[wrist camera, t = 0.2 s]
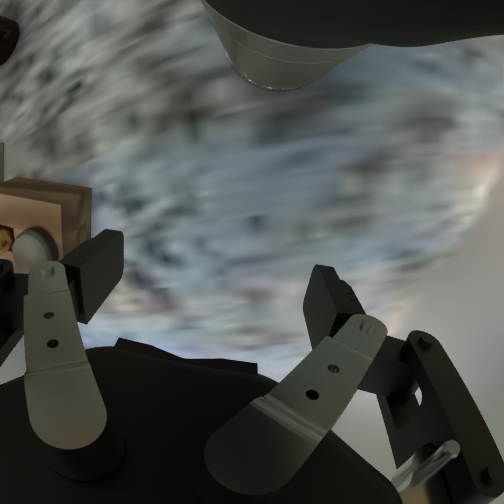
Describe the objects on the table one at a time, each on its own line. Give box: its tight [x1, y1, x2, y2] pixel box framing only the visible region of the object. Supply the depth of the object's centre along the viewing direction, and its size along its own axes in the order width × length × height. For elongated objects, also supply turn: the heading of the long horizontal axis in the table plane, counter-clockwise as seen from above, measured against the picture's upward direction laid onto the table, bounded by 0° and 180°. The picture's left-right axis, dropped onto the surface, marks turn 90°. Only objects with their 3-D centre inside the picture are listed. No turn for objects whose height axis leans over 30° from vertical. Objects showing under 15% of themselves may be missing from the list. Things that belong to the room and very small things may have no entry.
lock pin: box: [0, 226, 15, 256], centre depth 24 cm, size 2×2×11 cm
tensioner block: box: [0, 177, 91, 274], centre depth 26 cm, size 10×12×8 cm
